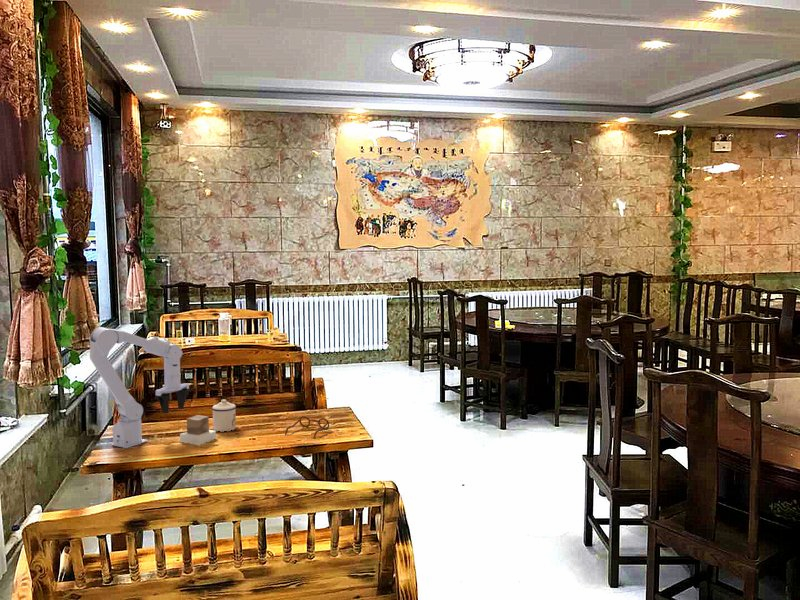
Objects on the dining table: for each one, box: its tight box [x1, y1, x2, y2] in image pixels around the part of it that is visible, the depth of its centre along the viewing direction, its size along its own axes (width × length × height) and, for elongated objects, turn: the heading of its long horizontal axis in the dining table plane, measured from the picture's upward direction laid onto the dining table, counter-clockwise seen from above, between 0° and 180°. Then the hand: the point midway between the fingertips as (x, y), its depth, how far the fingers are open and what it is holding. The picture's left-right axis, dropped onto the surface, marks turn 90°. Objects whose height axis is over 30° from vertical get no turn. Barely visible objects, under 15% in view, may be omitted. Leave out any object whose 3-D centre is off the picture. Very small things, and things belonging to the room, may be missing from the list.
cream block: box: [179, 429, 217, 446], centre depth 244 cm, size 9×9×4 cm
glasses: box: [284, 415, 330, 439], centre depth 255 cm, size 13×13×5 cm
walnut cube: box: [186, 414, 210, 435], centre depth 244 cm, size 6×6×6 cm
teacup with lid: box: [211, 399, 237, 433], centre depth 260 cm, size 12×9×12 cm
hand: (173, 410), depth 250 cm, fingers open, 7 cm apart
